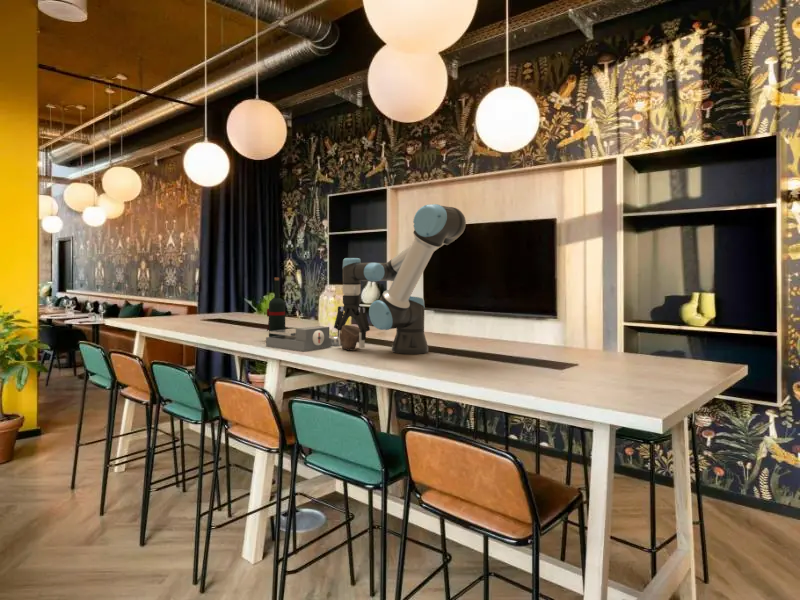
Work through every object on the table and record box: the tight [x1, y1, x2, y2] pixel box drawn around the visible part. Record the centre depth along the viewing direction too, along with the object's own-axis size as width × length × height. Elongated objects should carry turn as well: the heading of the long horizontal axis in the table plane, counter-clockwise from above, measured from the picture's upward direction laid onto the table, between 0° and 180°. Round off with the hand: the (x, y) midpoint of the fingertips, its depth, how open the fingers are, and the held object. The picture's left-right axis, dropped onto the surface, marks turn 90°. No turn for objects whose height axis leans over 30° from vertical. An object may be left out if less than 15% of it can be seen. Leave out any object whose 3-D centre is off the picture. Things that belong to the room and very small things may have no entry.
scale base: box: [265, 325, 332, 352], centre depth 237 cm, size 25×16×9 cm, turn 53°
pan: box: [268, 327, 297, 336], centre depth 240 cm, size 14×14×2 cm
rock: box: [340, 324, 360, 351], centre depth 229 cm, size 12×10×10 cm
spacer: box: [330, 335, 340, 347], centre depth 242 cm, size 5×5×4 cm
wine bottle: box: [266, 277, 286, 337], centre depth 253 cm, size 8×10×30 cm
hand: (351, 346), depth 230 cm, fingers closed on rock, 11 cm apart
